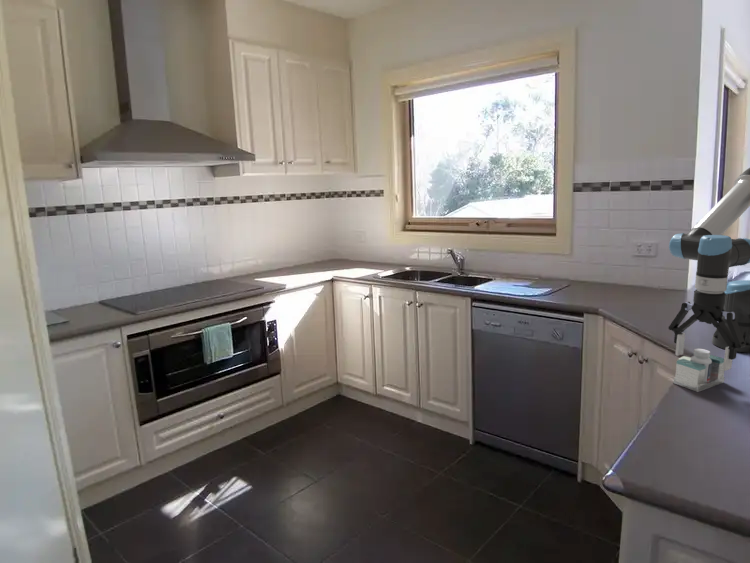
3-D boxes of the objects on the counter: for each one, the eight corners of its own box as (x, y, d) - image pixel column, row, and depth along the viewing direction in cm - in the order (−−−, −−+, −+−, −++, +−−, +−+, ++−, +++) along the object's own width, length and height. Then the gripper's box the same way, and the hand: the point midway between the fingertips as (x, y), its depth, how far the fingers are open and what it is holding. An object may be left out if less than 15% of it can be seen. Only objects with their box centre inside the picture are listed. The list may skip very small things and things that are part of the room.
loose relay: (682, 367, 164) (683, 355, 163) (699, 372, 160) (701, 360, 159) (676, 371, 162) (677, 358, 161) (694, 375, 158) (695, 363, 157)
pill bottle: (701, 375, 155) (705, 347, 153) (713, 383, 150) (717, 353, 148) (684, 376, 155) (687, 348, 153) (695, 383, 149) (699, 354, 148)
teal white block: (699, 374, 158) (702, 352, 157) (724, 382, 152) (727, 359, 151) (673, 383, 152) (675, 360, 151) (697, 392, 146) (700, 368, 145)
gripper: (659, 284, 155) (653, 351, 160) (751, 302, 134) (741, 379, 139) (675, 280, 159) (668, 346, 164) (767, 297, 137) (756, 372, 142)
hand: (702, 361), depth 151 cm, fingers open, 13 cm apart
